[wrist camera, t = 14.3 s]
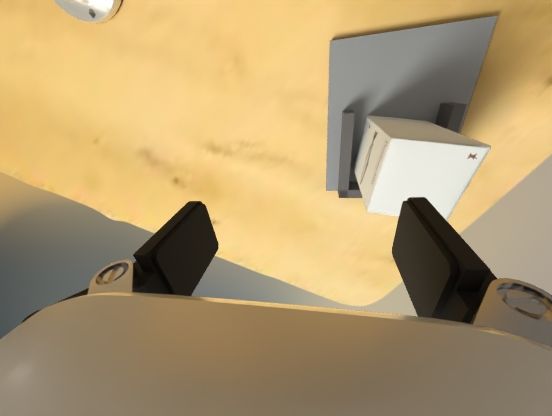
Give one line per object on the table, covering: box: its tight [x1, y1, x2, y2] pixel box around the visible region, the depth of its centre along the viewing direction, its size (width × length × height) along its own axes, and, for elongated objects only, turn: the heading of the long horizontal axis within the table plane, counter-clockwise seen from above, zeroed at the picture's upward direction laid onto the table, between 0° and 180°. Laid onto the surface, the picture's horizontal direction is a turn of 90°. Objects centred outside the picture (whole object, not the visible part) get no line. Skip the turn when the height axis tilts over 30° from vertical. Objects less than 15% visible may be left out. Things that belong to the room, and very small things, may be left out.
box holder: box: [326, 16, 498, 198], centre depth 26 cm, size 19×16×4 cm
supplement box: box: [353, 115, 491, 221], centre depth 23 cm, size 7×7×13 cm
